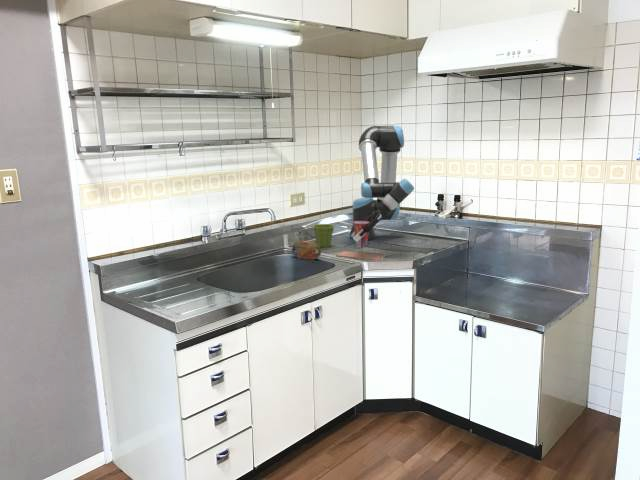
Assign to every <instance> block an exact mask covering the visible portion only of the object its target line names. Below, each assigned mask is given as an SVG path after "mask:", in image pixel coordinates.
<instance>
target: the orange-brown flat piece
mask: <svg viewBox="0 0 640 480" xmlns="http://www.w3.org/2000/svg"><path fill="white" fill-rule="evenodd" d="M291 249H292V254H293V255H294V256H295V258H297V259H302V260H304V259H305V260H310V261H311V260H316V259H318V258H320V256H321V254H322V247H320V245H319V244H317V243H316V241H304V240H303V241H302V240H299V241H296V242H294V243H293V245H292V248H291Z"/></svg>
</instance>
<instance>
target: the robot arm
mask: <svg viewBox="0 0 640 480" xmlns="http://www.w3.org/2000/svg"><path fill="white" fill-rule="evenodd" d="M404 147H405V136H404V131H403V128H402V127H401V126H399V125H371V126H370V127H367V128H366V129H365V130H364V131H363V132H362V133H361V134H360V136H359V140H358V149H359V151H360V152H361V163H362V172H363V181H364V182H363V183H361V185H360V195H361V197H362V198H361V197H360V198H356V199H355V200H354V201H353V202H352V226H351V229H350V231H349V239H351V240H354V241H355V243H356V242H358V241H359V240H360V239H361V238H362V237H363V236H364V235H365V234H366V233H367V232H369V235H368V241H371V240H375V239H376V231H375V226H376V225H377V224H378V223H379V222H380V221H395V220H397V219H398V217H399V214H400V209H401V203H402V202H403V201H404V200H405V199H406V198H407V197H408V196H410V195H411V194H412V192H413V191H414V190H415V187H414V185H413V184H412V183H411V182H410V181H409V180H408V179H406V178H403V179H401V180H400V181H398V182H397V168H398V167H397V166H398V165H397V164H398V154H399V153H400V152H401V149H402V148H404ZM377 148H379V149H378V150H379V152H380V153H381V166H380V167H381V168H380V176H379V169H378V168H379V167H378V160H377V153H376V152H377V151H376V150H377ZM379 177H380V178H379ZM374 198H375V199H374ZM353 221H368V222H369V223H368V224H367V225H366V226H365V227H363V228H362V230H361V231H360V232H359V233H358V234H357V235H356V236H355V229H354V223H353Z"/></svg>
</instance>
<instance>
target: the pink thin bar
mask: <svg viewBox="0 0 640 480" xmlns="http://www.w3.org/2000/svg"><path fill="white" fill-rule="evenodd" d="M346 251H347V252H357V253H367V254H377V255H384V254H385V253H375V252H367V251H357V250H356V251H355V250H346ZM385 255H387V256H388V254H385Z"/></svg>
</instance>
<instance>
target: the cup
mask: <svg viewBox="0 0 640 480" xmlns="http://www.w3.org/2000/svg"><path fill="white" fill-rule="evenodd" d="M353 223H354V229H355V236H356V235H357V234H358V233H359V232H360V231H361V230H362V228H363V227H365V226H366V225H367V224H368V223H369V222H368V221H353V220H352V224H353ZM368 235H369V232H367V233H366V234H365V235H364V236H363V237H362V238H361V239H360V240H359V241H358V242H356V241H355V244H356V247H358V248H366V247H368V241H369V240H368Z"/></svg>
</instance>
